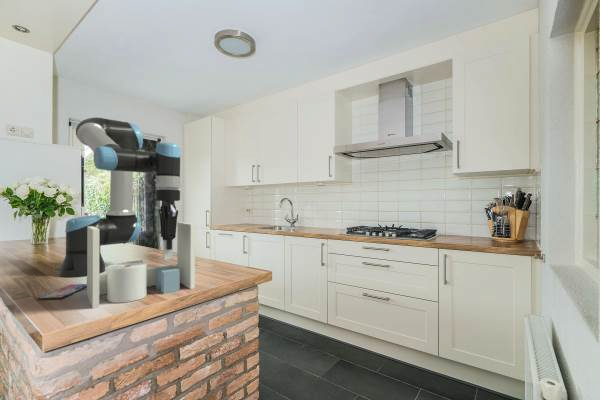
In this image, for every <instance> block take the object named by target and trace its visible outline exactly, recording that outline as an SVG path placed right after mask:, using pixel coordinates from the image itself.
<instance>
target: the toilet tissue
mask: <svg viewBox="0 0 600 400" xmlns="http://www.w3.org/2000/svg"><path fill="white" fill-rule="evenodd" d="M147 265H148V264H147V262H144V260H142V259H141V260H133V261H132V260H131V261H125V262H120V263H114V264H111V265H108V266H107V267H106V269H107V270H106V271H107V272H106V274H107V295H106V300H107V302H110V303H117V304H118V303H119V304H120V303H122V304H123V303H130V302H133V301H137V300H141V299H143V298H145V297H146V296H147V295H148V294H147V287H148V286H147V285H146V283H147V281H146V279H147V274H146V273H147V267H148V266H147Z"/></svg>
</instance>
